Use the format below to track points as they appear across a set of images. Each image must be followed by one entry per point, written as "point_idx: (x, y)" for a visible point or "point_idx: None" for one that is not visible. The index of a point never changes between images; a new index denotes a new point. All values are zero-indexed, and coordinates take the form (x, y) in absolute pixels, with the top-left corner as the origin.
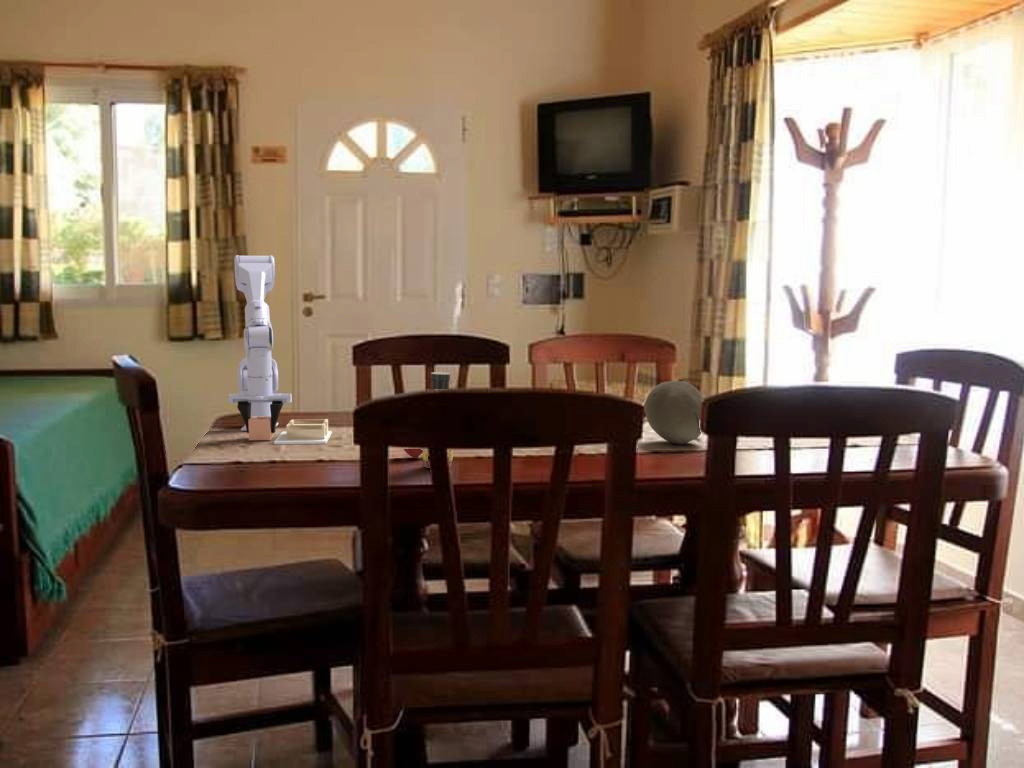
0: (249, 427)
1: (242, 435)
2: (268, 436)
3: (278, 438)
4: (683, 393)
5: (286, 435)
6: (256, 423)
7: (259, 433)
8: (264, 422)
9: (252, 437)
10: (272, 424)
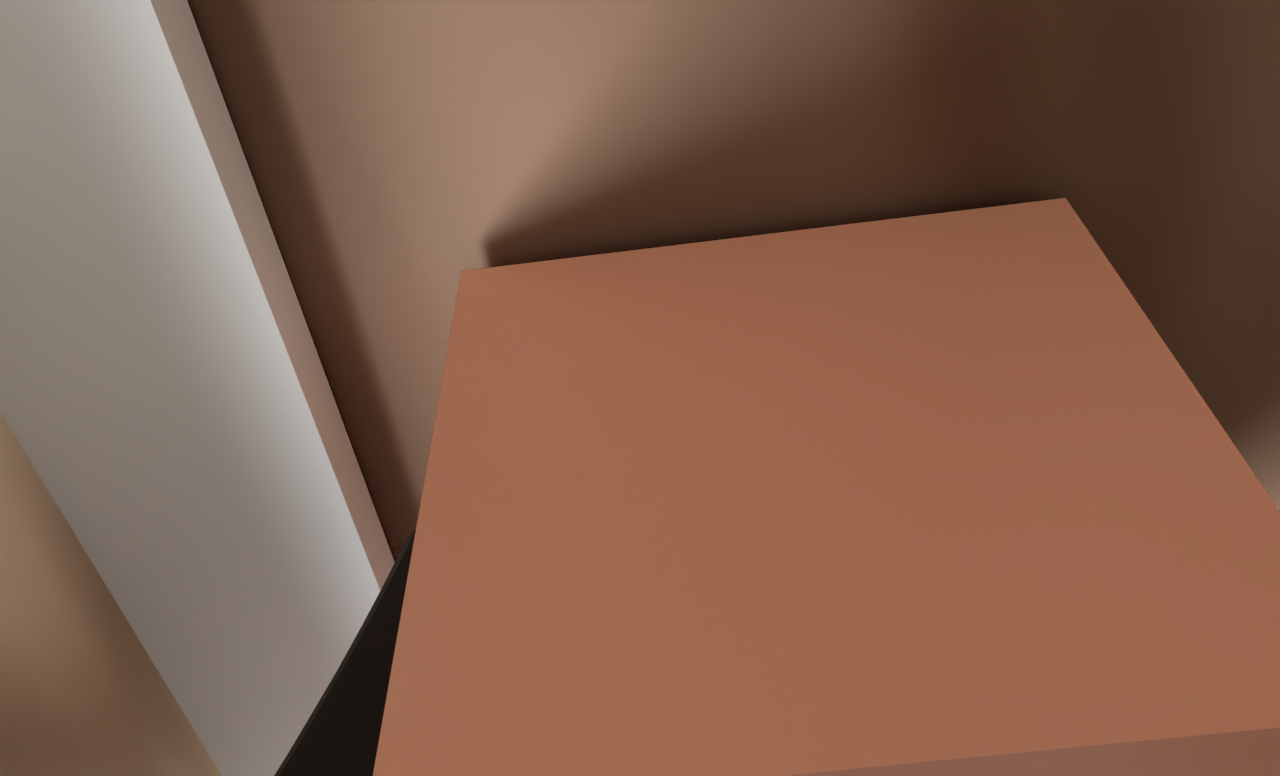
0: (1201, 455)
1: None
2: (504, 323)
3: (216, 306)
4: None
5: (221, 632)
6: (964, 601)
7: (786, 346)
8: (621, 667)
9: (986, 251)
10: (383, 713)
